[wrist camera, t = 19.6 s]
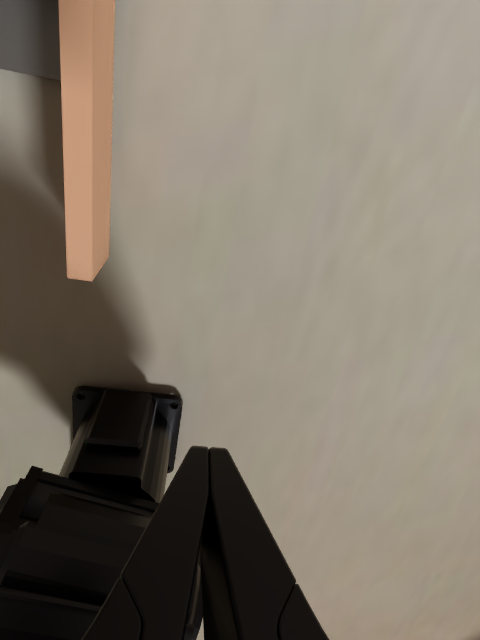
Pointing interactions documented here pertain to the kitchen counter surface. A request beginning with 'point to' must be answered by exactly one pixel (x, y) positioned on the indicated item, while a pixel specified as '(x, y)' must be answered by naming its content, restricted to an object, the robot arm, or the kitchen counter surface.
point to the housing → (30, 37)
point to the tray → (87, 130)
